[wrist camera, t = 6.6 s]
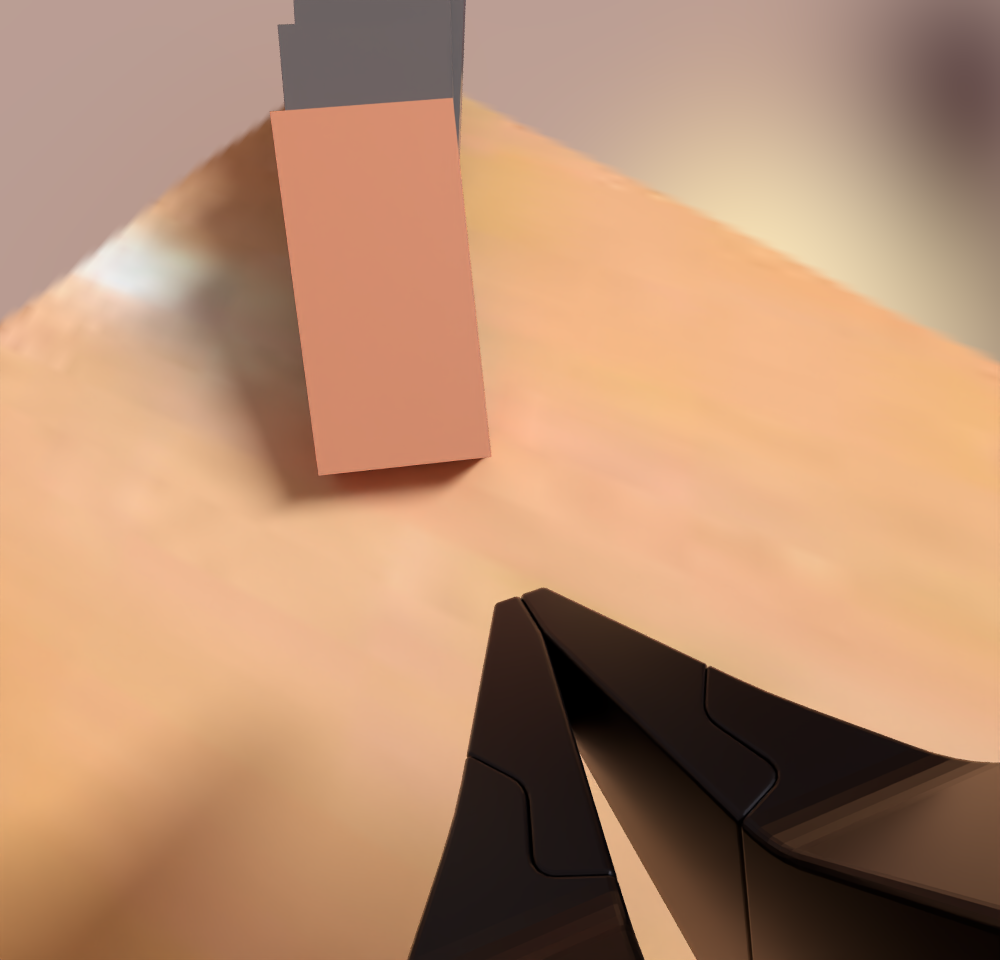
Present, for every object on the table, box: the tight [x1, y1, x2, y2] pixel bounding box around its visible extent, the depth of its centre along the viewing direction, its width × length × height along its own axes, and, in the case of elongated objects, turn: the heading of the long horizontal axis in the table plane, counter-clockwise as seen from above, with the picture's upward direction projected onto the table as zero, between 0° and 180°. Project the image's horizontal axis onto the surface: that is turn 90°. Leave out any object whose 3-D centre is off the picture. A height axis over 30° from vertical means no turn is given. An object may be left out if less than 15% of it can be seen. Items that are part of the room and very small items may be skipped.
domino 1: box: [294, 0, 454, 104], centre depth 20 cm, size 2×5×10 cm
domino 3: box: [270, 98, 491, 476], centre depth 17 cm, size 2×5×10 cm
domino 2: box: [278, 20, 452, 110], centre depth 19 cm, size 2×5×10 cm
